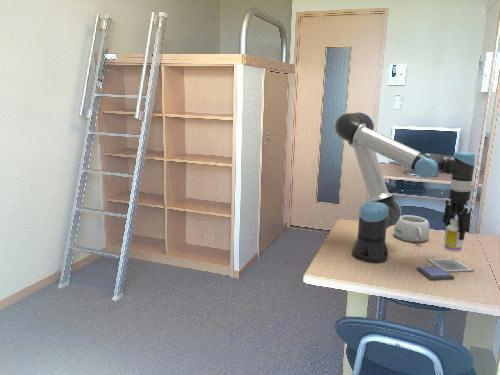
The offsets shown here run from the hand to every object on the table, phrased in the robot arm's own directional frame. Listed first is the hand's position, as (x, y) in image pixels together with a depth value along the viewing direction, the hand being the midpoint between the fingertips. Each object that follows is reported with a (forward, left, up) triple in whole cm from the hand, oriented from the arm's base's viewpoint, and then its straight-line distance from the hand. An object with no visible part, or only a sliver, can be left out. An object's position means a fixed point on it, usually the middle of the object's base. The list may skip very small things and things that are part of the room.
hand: (453, 243), depth 178 cm
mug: (+2, +33, -10) cm, 35 cm away
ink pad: (-12, -8, -10) cm, 17 cm away
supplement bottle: (0, 0, -3) cm, 3 cm away
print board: (0, 0, -10) cm, 10 cm away
